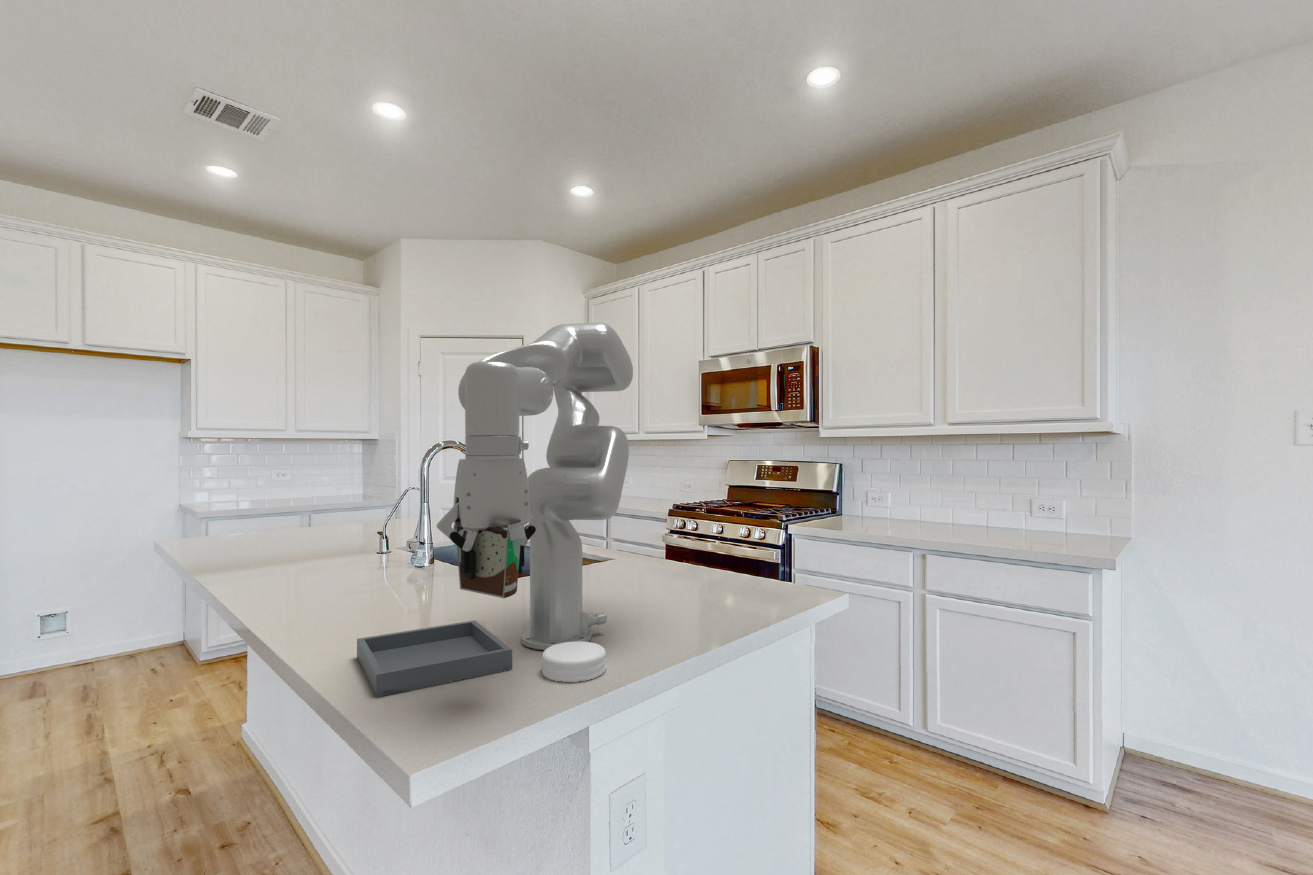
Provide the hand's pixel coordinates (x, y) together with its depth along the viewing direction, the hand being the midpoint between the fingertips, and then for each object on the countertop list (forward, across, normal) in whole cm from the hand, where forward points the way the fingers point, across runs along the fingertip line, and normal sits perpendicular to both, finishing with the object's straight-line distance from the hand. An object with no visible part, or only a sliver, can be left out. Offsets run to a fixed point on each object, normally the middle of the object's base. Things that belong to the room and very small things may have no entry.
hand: (493, 573), depth 89 cm
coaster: (+18, -14, -3) cm, 23 cm away
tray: (+17, +4, -19) cm, 26 cm away
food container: (+3, -1, 0) cm, 3 cm away
